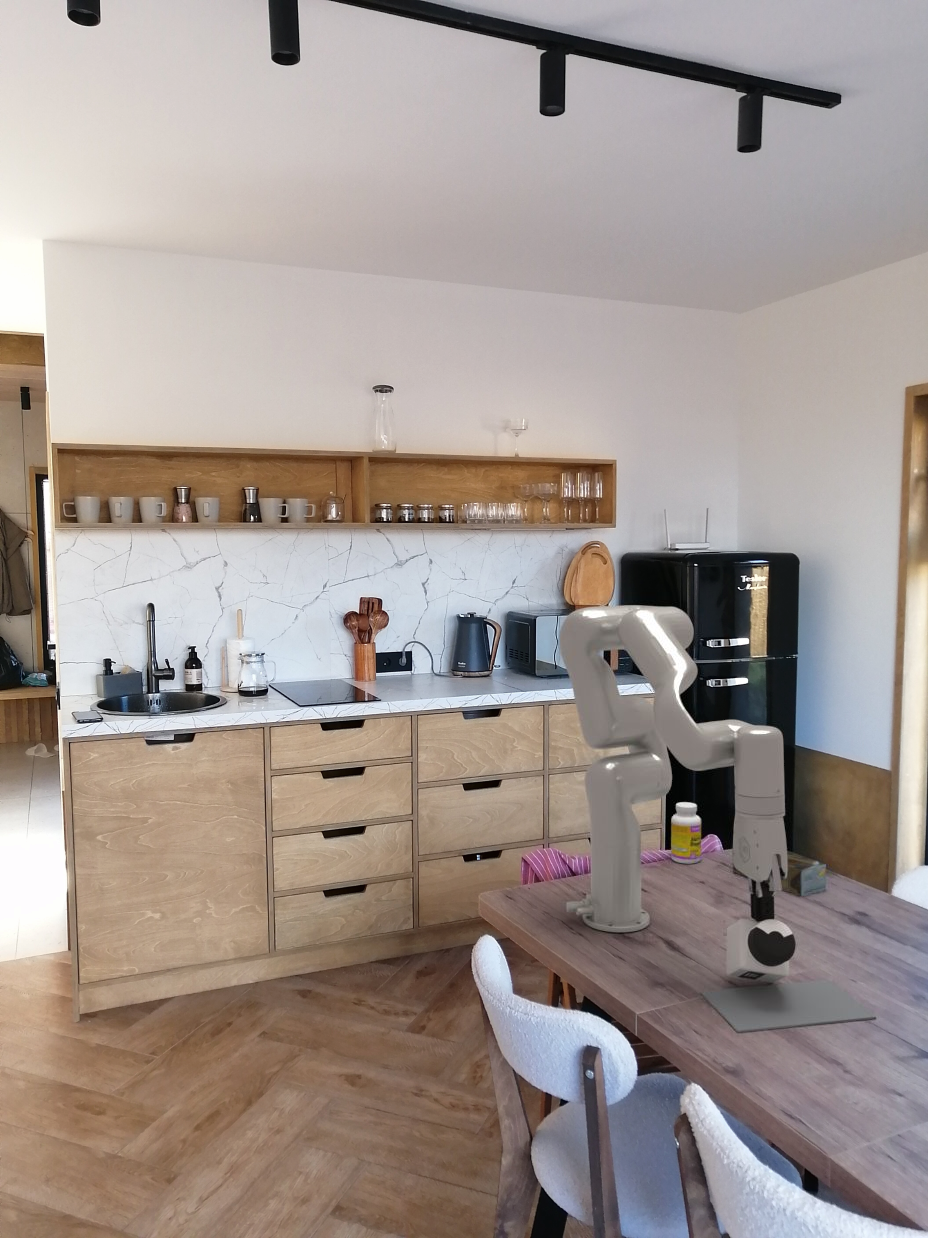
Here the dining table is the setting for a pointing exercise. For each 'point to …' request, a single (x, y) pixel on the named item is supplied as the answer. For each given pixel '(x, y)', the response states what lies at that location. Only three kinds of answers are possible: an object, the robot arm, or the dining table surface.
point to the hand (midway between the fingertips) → (762, 919)
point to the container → (759, 950)
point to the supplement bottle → (686, 834)
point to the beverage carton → (802, 875)
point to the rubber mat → (785, 1005)
